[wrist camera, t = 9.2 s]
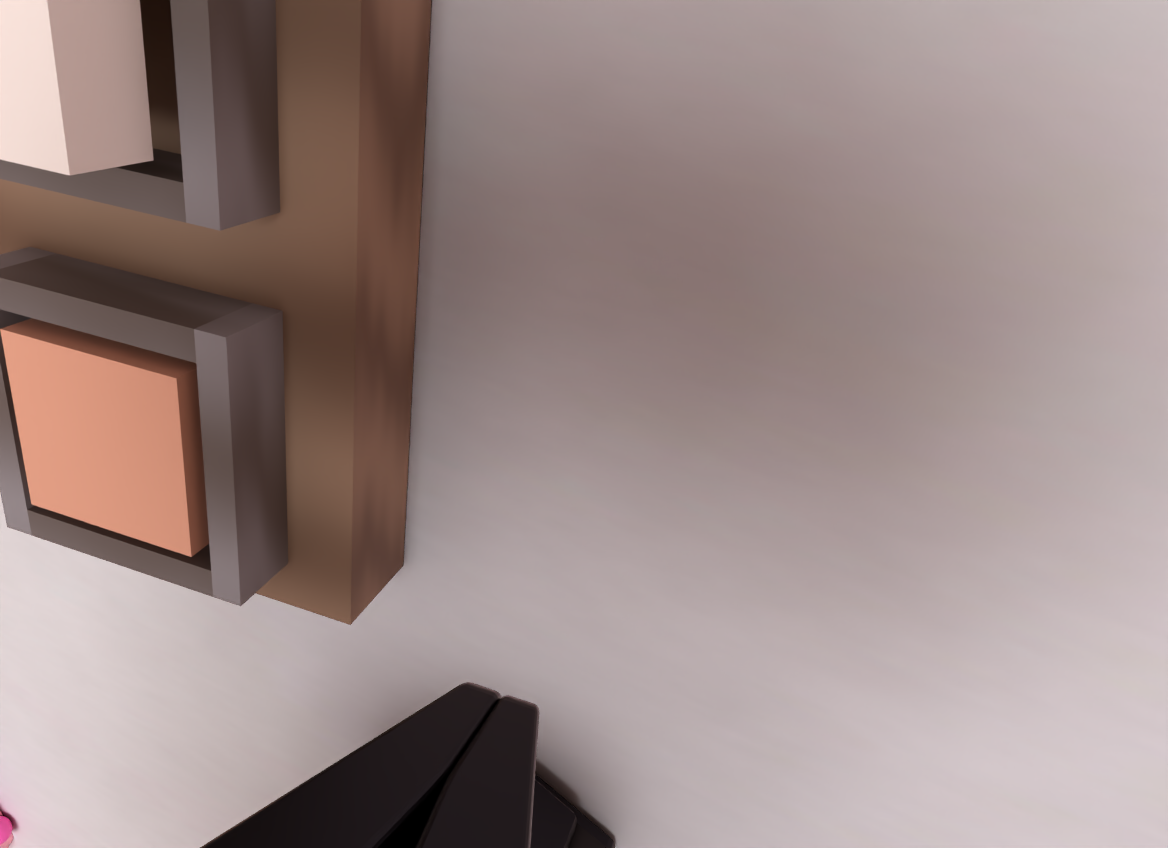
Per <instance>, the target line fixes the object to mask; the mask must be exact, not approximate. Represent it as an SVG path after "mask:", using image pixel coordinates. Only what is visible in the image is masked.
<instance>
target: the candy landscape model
mask: <svg viewBox="0 0 1168 848" xmlns="http://www.w3.org/2000/svg"><path fill="white" fill-rule="evenodd" d="M12 829H13V828H12V823H11V821H10V820H9V819H8V818H7V817H4V816H3V815H2V813H1V811H0V848H8V847H9V844H10V843H11V842H12V840H13V835H12V833H11V832H12Z"/></svg>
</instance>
